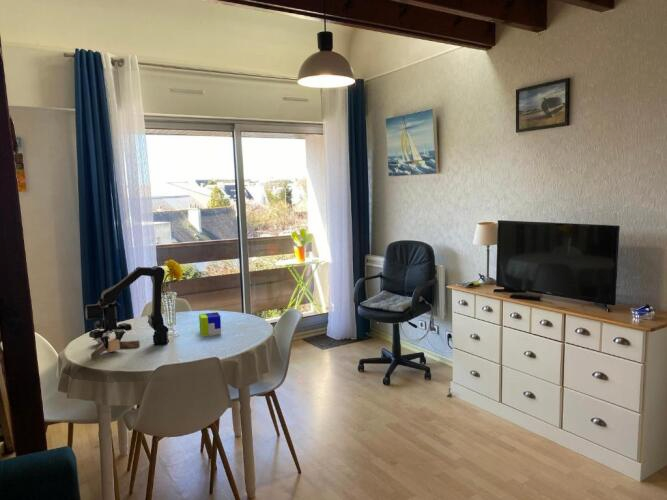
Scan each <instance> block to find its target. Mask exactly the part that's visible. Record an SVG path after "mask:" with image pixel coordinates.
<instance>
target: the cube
mask: <svg viewBox="0 0 667 500" xmlns="http://www.w3.org/2000/svg"><path fill="white" fill-rule="evenodd" d="M110 338H111V337H110ZM104 349H105V350H104V352H106V351H108V352H113V351H116V350H119V351H121V348H120V343H119V339H116V337H112V338H111V339H108V349H106V348H105V346H104Z"/></svg>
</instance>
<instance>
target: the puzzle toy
mask: <svg viewBox="0 0 667 500" xmlns="http://www.w3.org/2000/svg"><path fill="white" fill-rule="evenodd" d="M221 318H222V317H221V315H220V314H219V312H218V311H217V312H207V313H199V314H198V319H199V320H198V321H199V332H201V333H200V335H201V334H202V335H201V336H202V337H208V336H207V335H210V336H216V335H215V334H219V335H222V323H221V322H222V321H221Z"/></svg>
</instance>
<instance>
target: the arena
mask: <svg viewBox="0 0 667 500" xmlns="http://www.w3.org/2000/svg"><path fill="white" fill-rule="evenodd" d="M140 344H141V343H140V340H121V341H120V349H125V348H140V346H141V345H140ZM122 352H123V351H122V350H116V351H113V352H108V351H105V349H104V344H103V343H102V344H101V343H100V345H99V346H98V347H97V348H96V349H95V350H93V351H92V352H91V353H90V360H91V361H95V360H96V359H97V358H98V357H99V356H100V355H102V353H103V354H105V355H108V356H111V355H115V354H119V353H122Z"/></svg>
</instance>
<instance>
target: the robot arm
mask: <svg viewBox="0 0 667 500" xmlns="http://www.w3.org/2000/svg"><path fill="white" fill-rule="evenodd" d="M165 275H166V271H165V269H164V268H162V267H161V266H158V265H154V266H152V267H149V266H147V267H145V266H144V267H143V266H142V267H141V266H136V267H135V268H134V270H133V271H131V272H130V273H128V274H127V275H126V276H125V277H124V278H123V279H121V280H120V281H118V283H116V284H115V285H112V286H110V287H109V288H106V289H105V290H103V291H102V292H101V294H100V295H101V296H100V298H99V299H98V301H97V303H96V304H86V305H85V313H84V314H85V319H86V320H93V319H101V321H99V320H97V321H93V327H94V330H90V331H89V333H88V336H89V337H88V338H92V339H94V338H95V339H96V338H100V339H101V340H102V342H103V344H104V346H105V348H106V349H108V336H106V333H110V334H112V333H113V332H114V335H115V338H116V339H119V343H120V341H122V338H123V337H124V335H125V334H126V333H127V332H128V331H132V330H133V327H132V325H131V324H130V323H128V322H124V323H123V322H122V323H120V324H118V321H119V318H118V317H117V308H118V307H121V304H120V303H118V301H116V300H117V299H119V297H120V295H121V294H122V293H123V291H124V290H126V289H127V288H128V287H129V286H131V285H132V284H133V283H134V282H136V281H137V280H139V278H140V277H142V276H144V277H145V276H146V277H150V279H151V280H150V281H151V283H152V290H151V291H152V294H151V295H152V300H151V302H152V303H151V313H150V314H148V315H147V317H148V318H147V319H148V320H147V324H148V326H149V327H150V328H151V329H153V331H154V332H153V334H152V341H153V345H154V346H163V345H168V343H169V342H170V339H169V330H170V329H169V327H167V326H166V325H165V323H164V317H163V314H162V291H163V290H162V286H163V282H164V280H165ZM102 316H103V318H101V317H102ZM101 329H104V330H102V331H101ZM111 332H112V333H111Z"/></svg>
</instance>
